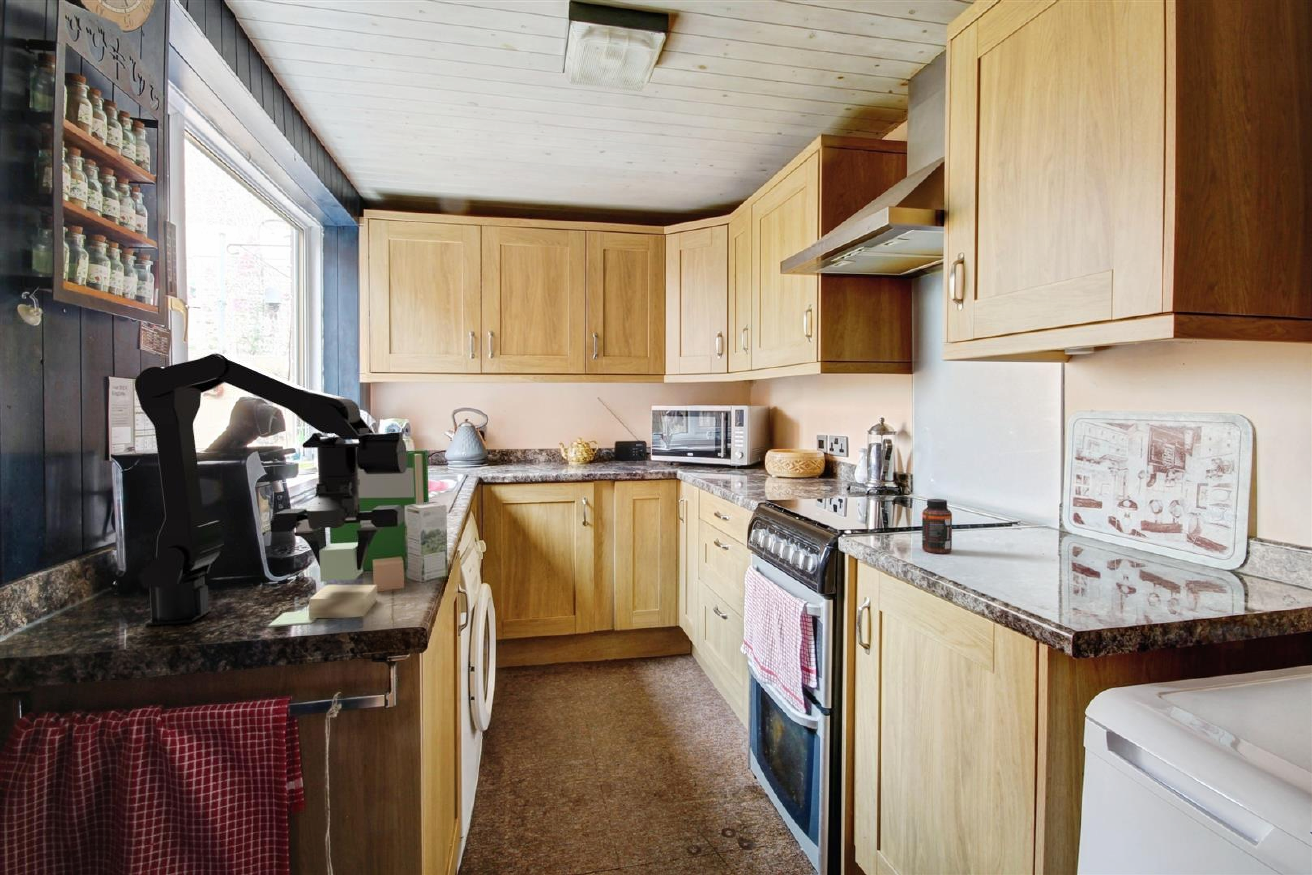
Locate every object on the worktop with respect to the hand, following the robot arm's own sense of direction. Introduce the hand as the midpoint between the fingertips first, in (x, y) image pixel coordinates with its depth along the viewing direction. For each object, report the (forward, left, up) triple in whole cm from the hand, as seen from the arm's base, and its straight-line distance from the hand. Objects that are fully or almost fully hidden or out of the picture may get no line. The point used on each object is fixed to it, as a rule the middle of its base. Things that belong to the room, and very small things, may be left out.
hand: (342, 570), depth 102 cm
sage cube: (0, 0, -1) cm, 1 cm away
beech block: (0, 0, -6) cm, 7 cm away
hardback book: (-1, +30, -7) cm, 31 cm away
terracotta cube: (+4, +13, -7) cm, 15 cm away
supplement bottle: (+117, +14, -7) cm, 118 cm away
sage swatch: (-6, -3, -7) cm, 9 cm away
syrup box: (+10, +18, -7) cm, 22 cm away
